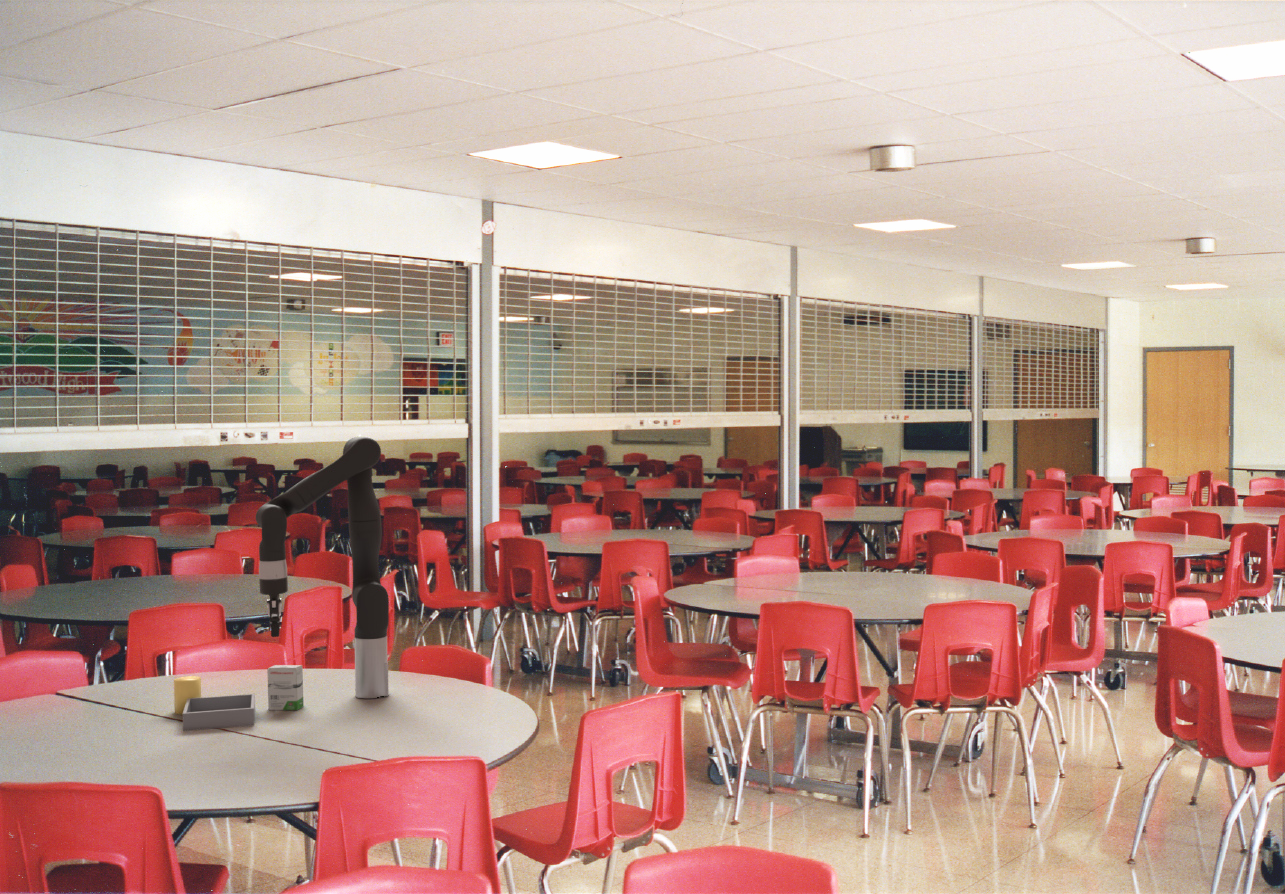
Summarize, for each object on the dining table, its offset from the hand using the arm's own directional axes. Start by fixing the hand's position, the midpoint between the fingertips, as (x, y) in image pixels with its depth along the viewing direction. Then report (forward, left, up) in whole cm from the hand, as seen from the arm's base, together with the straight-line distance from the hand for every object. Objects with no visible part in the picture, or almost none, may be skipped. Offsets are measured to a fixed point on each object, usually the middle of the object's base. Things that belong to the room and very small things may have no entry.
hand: (275, 633), depth 339 cm
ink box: (-2, +1, -21) cm, 21 cm away
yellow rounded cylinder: (+24, -4, -21) cm, 32 cm away
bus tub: (+15, +9, -21) cm, 27 cm away
